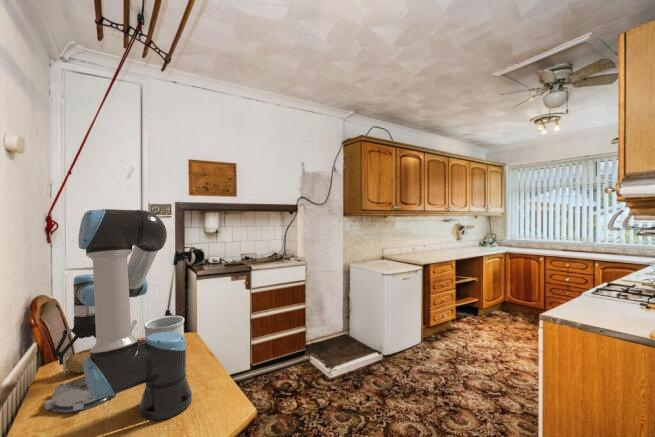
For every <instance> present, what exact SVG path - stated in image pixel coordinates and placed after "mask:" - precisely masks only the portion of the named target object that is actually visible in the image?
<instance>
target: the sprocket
mask: <svg viewBox="0 0 655 437" xmlns="http://www.w3.org/2000/svg"><path fill="white" fill-rule="evenodd" d="M53 390H54V392H52V394H51V399H48V400H45V401H44V408H45V409H46V410H47V411H48V410H50V409H51V408H53V407H55V408H59V409H71V408H73V411H75V410H79V409H83V408H84V406H85V405H89V404H92V403H94V402H97V401H99V400H101V399H103V398H101V399H94V398H93V397H92V396H91V394H90V392H89V390H88V387H87V383H86V380H85V376H81V377H79V378H75V379H73V380H71V381H69V382H67V383H60V384H58V385H57V386H55V387H54V388H53ZM114 395H115V394H114ZM115 396H116V395H115ZM104 398H105V397H104Z"/></svg>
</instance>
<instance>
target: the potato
mask: <svg viewBox="0 0 655 437" xmlns="http://www.w3.org/2000/svg"><path fill="white" fill-rule="evenodd" d="M92 348H93V347H92ZM92 348H87V349H84V350H81V351H79V352H76V353H73V354H71V355H69V356H67V357H68V358H67V360H66V363H65V366H66V368H67V370H68V371H69V372H72V373H77V374H80V373H84V370H83V361H84V360H85V359H87V358H88V357H89V358H90V350H91V349H92Z"/></svg>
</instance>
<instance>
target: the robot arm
mask: <svg viewBox="0 0 655 437" xmlns="http://www.w3.org/2000/svg"><path fill="white" fill-rule="evenodd" d="M167 235H168V233H167V227H166V225H165V224H164V222H163V220H161V218H160V217H159V216H158V215H156V214H155V213H153V212H151V211H148V210H145V209H144V210H143V209H112V208H111V209H109V208H102V209H89V210H87V211H85V212H84V214H83V216H82V219H81V222H80V225H79V230H78V241H77V242H78V248H79V249H81V250H85V256H86V257H88V258H89V259H91V260H92V271H93V272H92V273H93V274H92V273H91V274H89V273H87V274H81V275H76V276H75V277H74V279H73V284H72V287H73V315H74V316H73V327H72V328H64V329H63V330H62V337H61V338H60V341H59V342H58V344H57V345H56V346H57V347H56V348H55V349H54V352H53V354H52V356H53V357H58V359H59V363H58V364H59V366H60V365H61V366H62V374H66V373H67V370H68V369H67V368H66V366H65V363H66V360H67V357H68V353H67V352H68V351H69V349H71V347H72V346H73V344H74V343H75V342H76V341H77V340H78V339H81V340H82V339H84V338H91V337H93V338H95V340H96V342H95V344H94V345H93V346H92V349H91V348H90V349H91V350H90V358H89V357H88V358H87V359H85V360H84V361H83V370H84V372H83V374H84V377H85V380H86V383H87V387H88V390H89V392H90V394H91V396H92V397H93V398H94V399H101V398H104V397H107V396H111V395H112V396H113V395H114V394H116V393H117V394H119V393H122V392H124V391H127V390H130V389H133V388H135V387H139V386H140V385H143V384H145V388H144V391H143V394H142V397H141V399H140V403H139V407H138V408H139V410H138V412H139V415H140V416H141V417H142V418H144V419H147V421H160V420H161V421H162V420H167V419H170V418H172V417H175V416H177V415H178V414H180V413H182V412H184V411H185V410H186V409H188V407H189V406H190V405H191V403H192V400H193V399H192V398H193V393H192V390H191V387H190V384H189V382H188V378H187V373H186V372H187V344H186V337H185V335H184V336H183V335H182V334H180V333H176V332H158V333H153V334H150V335H148V336H147V337H146V339H144V340H145V343H142V344H138V340H139V339H138V338H136V337H135V336H133V334H132V321H131V320H132V319H131V302H130V301H131V300H130V298H137V297H140V296H143V295H146V294H147V292H148V288H149V287H148V286H149V284H148V281H147V278H146V277H147V276H148V273H149V272H150V269H151V268H152V266H153V262H154V260H155V258H156V256H157V254H158V251H160V250H162V249H163V248H164V246H165V244H166V242H167V238H168V236H167ZM129 255H130V257H129ZM128 257H129V259H128ZM71 333H73V334H74V336H73V337H72V339H71V340H70V341H69V342H68V343H67V344H66V345H65V347H64V348H63V349H62V346H63V344H64V343H65V341H66V339H67V337H68V336H69V335H70V334H71ZM61 349H62V351H60V350H61ZM117 394H116V395H117Z"/></svg>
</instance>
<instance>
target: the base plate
mask: <svg viewBox="0 0 655 437" xmlns="http://www.w3.org/2000/svg"><path fill="white" fill-rule="evenodd" d="M117 394H118V393H116V394H115V395H113V396H112V395H111V396H107V397H105V398H103V399H101V400H99V401H97V402H94V403H92V404H89V405H85V406H84V408H83V409H79V410H75V411H73V408H71V409H59V408H55V407H53V408H51V409H49V410H50V411H51V413H54V414H61V415H64V414H65V415H66V414H74V413H79V412H83V411H86V410H90V409H92V408H95V407H98V406H100V405H102V404H104V403H105V402H108V401H109V400H112V399H113V398H114V397H115V396H116V395H117Z"/></svg>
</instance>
